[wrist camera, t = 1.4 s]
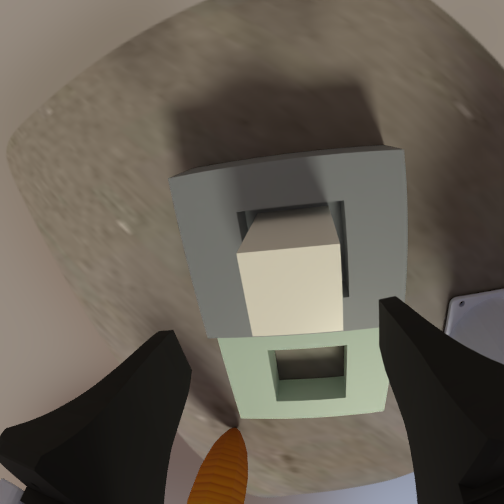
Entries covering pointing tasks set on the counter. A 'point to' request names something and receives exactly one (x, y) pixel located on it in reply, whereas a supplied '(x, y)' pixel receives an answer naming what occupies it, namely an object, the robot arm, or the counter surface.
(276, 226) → the peg
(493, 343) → the robot arm
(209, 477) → the carrot
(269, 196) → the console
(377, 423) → the counter surface
